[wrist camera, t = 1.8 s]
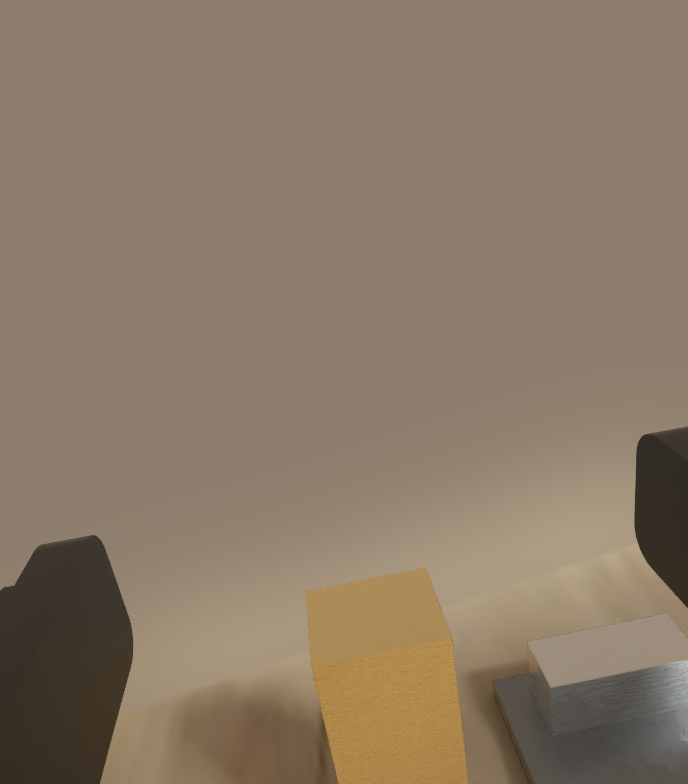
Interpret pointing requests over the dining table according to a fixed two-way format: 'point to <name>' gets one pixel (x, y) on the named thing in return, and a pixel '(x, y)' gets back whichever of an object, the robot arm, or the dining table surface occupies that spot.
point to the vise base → (594, 747)
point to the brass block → (387, 681)
